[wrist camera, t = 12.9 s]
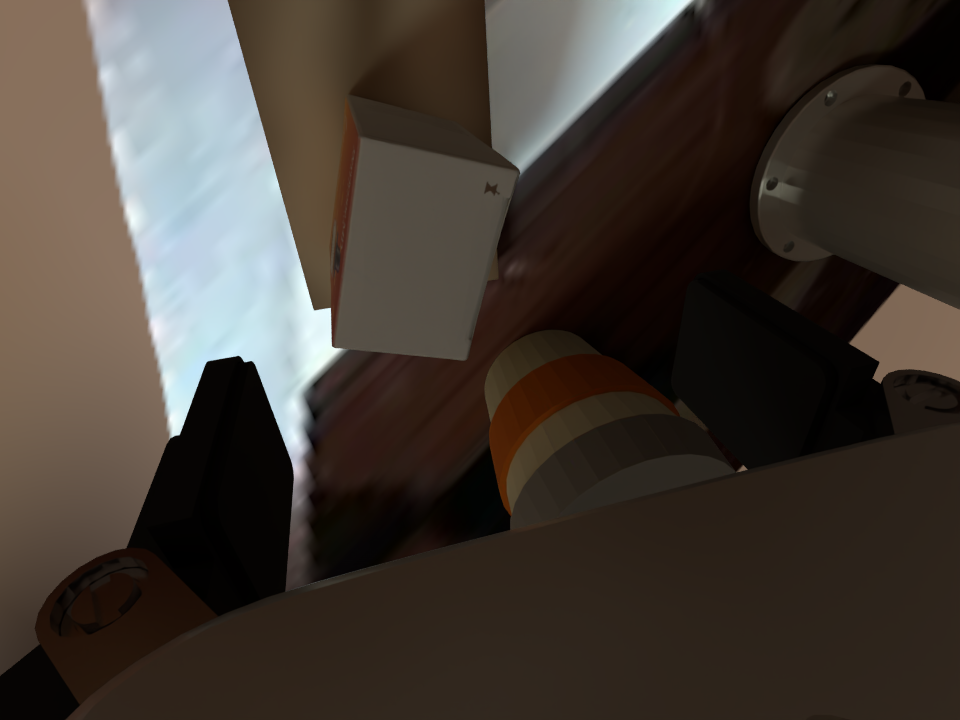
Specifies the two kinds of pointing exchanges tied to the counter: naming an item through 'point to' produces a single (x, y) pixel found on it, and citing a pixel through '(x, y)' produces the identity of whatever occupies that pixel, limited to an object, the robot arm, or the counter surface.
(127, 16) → the counter surface
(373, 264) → the small box
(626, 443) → the reusable coffee cup
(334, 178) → the shelf board
